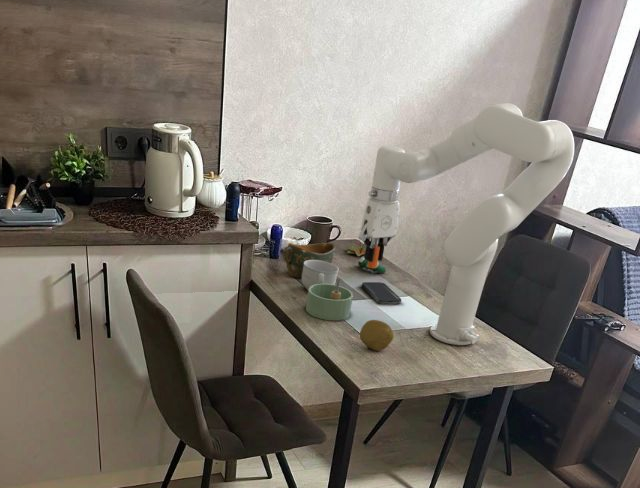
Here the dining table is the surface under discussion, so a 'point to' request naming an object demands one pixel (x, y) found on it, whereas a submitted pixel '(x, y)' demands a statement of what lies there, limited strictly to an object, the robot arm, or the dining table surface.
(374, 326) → the potato
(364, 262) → the green toy figure
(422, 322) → the dining table surface
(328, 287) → the crock
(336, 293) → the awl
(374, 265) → the screwdriver
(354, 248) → the lily flower
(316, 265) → the teacup
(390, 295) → the phone
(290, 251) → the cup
